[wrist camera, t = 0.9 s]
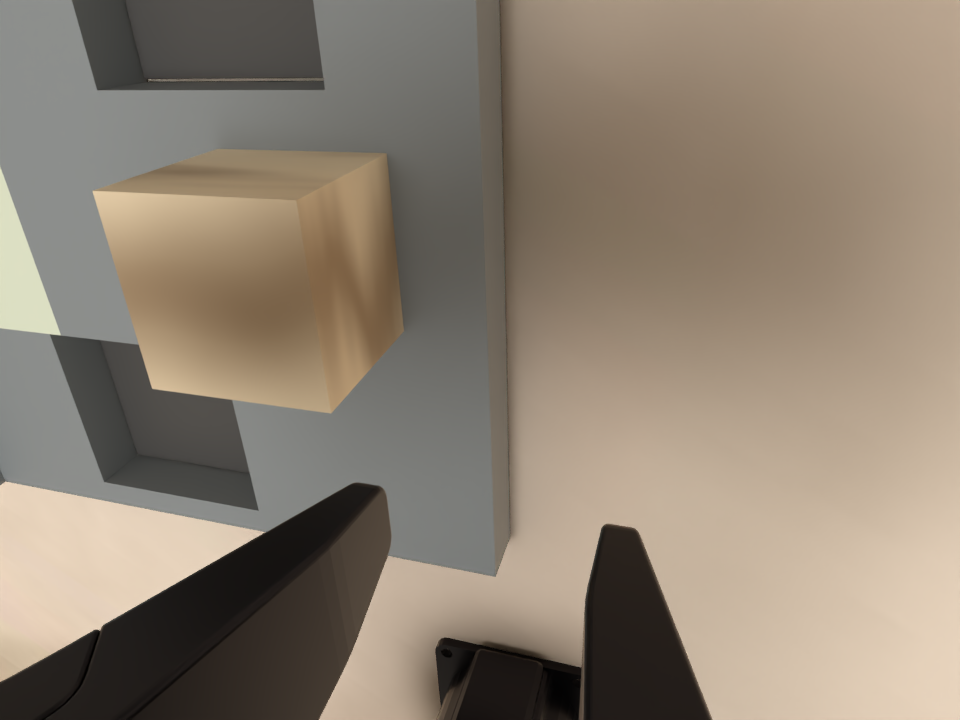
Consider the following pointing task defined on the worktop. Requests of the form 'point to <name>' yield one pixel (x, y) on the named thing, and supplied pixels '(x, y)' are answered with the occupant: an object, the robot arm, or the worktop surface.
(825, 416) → the worktop surface
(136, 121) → the board
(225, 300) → the maple block
